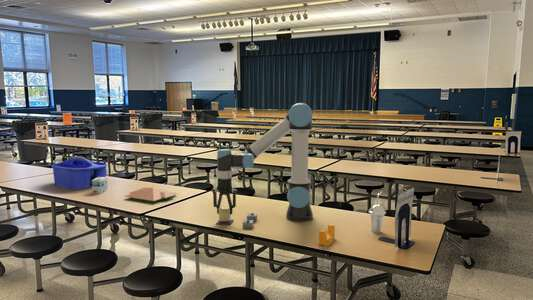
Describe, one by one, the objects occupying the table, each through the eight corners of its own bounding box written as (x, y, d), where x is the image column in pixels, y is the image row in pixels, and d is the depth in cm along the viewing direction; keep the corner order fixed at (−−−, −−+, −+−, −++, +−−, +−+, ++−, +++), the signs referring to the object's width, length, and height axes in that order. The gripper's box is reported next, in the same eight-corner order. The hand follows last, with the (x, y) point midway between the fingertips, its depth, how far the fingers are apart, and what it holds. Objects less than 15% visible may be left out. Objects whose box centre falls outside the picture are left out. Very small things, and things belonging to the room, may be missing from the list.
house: (157, 206, 238) (156, 193, 237) (119, 200, 252) (119, 188, 251) (180, 198, 258) (180, 186, 257) (144, 193, 272) (144, 182, 271)
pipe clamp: (327, 246, 171) (327, 232, 171) (318, 244, 174) (318, 230, 173) (337, 238, 181) (338, 225, 180) (329, 236, 184) (329, 223, 183)
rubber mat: (233, 220, 208) (233, 219, 208) (230, 225, 200) (230, 224, 200) (219, 219, 209) (219, 219, 209) (215, 224, 201) (215, 223, 201)
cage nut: (230, 218, 207) (230, 206, 206) (227, 221, 201) (227, 209, 200) (222, 218, 208) (222, 206, 207) (219, 221, 202) (219, 208, 201)
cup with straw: (364, 229, 193) (365, 191, 191) (378, 227, 197) (379, 190, 194) (375, 235, 185) (376, 195, 183) (389, 232, 189) (391, 193, 186)
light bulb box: (101, 194, 266) (100, 179, 264) (92, 194, 266) (91, 179, 264) (108, 191, 276) (107, 176, 275) (99, 191, 276) (98, 176, 275)
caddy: (80, 179, 319) (79, 152, 316) (116, 184, 298) (115, 155, 295) (44, 186, 292) (41, 156, 289) (80, 193, 271) (78, 161, 268)
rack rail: (257, 219, 210) (257, 212, 210) (252, 228, 194) (252, 221, 194) (248, 218, 211) (248, 212, 210) (242, 228, 195) (242, 221, 195)
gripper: (241, 176, 204) (241, 218, 207) (210, 175, 206) (211, 216, 209) (238, 179, 197) (239, 222, 200) (206, 178, 199) (207, 221, 202)
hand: (224, 219), depth 204 cm, fingers closed on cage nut, 4 cm apart
